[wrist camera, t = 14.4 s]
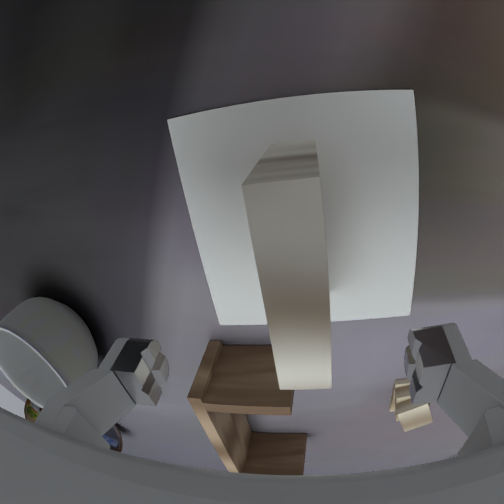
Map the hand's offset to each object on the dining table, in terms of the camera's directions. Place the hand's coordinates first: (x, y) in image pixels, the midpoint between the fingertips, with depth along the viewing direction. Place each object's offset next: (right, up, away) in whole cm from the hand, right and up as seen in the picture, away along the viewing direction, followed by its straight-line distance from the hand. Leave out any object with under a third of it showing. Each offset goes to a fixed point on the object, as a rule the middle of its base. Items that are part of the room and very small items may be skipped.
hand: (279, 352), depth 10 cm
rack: (0, -11, +19) cm, 22 cm away
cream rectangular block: (+2, +5, +9) cm, 11 cm away
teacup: (-19, -5, +20) cm, 28 cm away
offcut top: (+14, -11, +14) cm, 22 cm away
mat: (+2, +5, +10) cm, 11 cm away
